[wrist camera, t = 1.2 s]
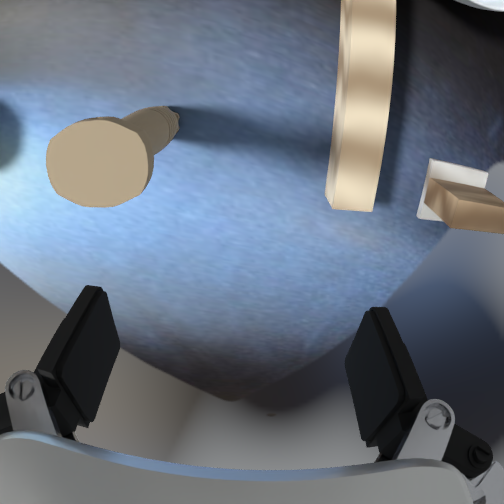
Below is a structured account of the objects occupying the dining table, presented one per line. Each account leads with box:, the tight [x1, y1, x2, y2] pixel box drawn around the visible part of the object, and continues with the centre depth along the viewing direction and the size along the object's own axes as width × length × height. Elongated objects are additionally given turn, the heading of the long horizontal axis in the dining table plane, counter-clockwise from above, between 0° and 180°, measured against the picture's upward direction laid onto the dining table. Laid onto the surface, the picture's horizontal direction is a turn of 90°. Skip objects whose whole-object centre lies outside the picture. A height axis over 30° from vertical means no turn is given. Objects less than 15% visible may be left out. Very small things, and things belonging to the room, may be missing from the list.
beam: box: [325, 0, 396, 212], centre depth 23 cm, size 24×4×4 cm, turn 178°
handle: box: [46, 106, 180, 207], centre depth 21 cm, size 5×6×15 cm
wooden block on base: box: [416, 158, 504, 234], centre depth 27 cm, size 7×9×7 cm
